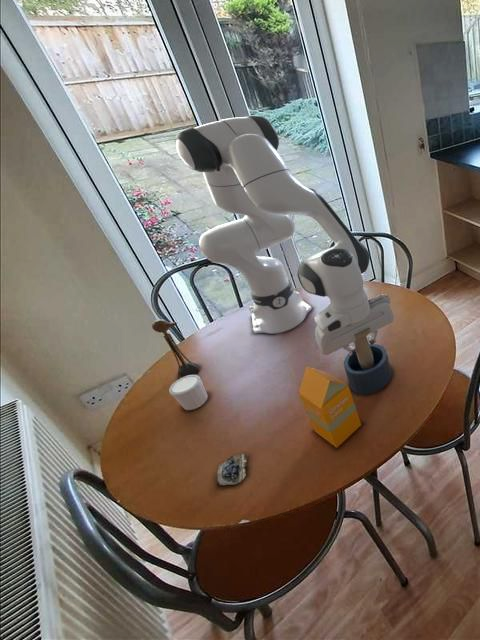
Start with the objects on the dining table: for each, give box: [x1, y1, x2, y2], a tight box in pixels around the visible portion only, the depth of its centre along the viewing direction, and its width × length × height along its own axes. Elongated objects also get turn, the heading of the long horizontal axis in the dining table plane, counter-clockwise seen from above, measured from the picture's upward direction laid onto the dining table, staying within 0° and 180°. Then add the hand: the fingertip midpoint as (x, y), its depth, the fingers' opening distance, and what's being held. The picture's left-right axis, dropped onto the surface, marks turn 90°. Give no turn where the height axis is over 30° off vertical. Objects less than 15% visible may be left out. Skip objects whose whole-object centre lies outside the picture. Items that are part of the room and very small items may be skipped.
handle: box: [353, 327, 374, 371], centre depth 110 cm, size 5×6×15 cm
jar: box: [343, 343, 392, 395], centre depth 114 cm, size 12×12×8 cm
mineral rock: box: [216, 453, 247, 486], centre depth 92 cm, size 7×8×2 cm
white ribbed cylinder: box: [168, 374, 209, 411], centre depth 108 cm, size 7×7×7 cm
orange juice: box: [298, 365, 362, 448], centre depth 97 cm, size 8×9×20 cm
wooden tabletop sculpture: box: [151, 319, 200, 378], centre depth 114 cm, size 6×5×20 cm
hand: (362, 347), depth 110 cm, fingers closed on handle, 4 cm apart
